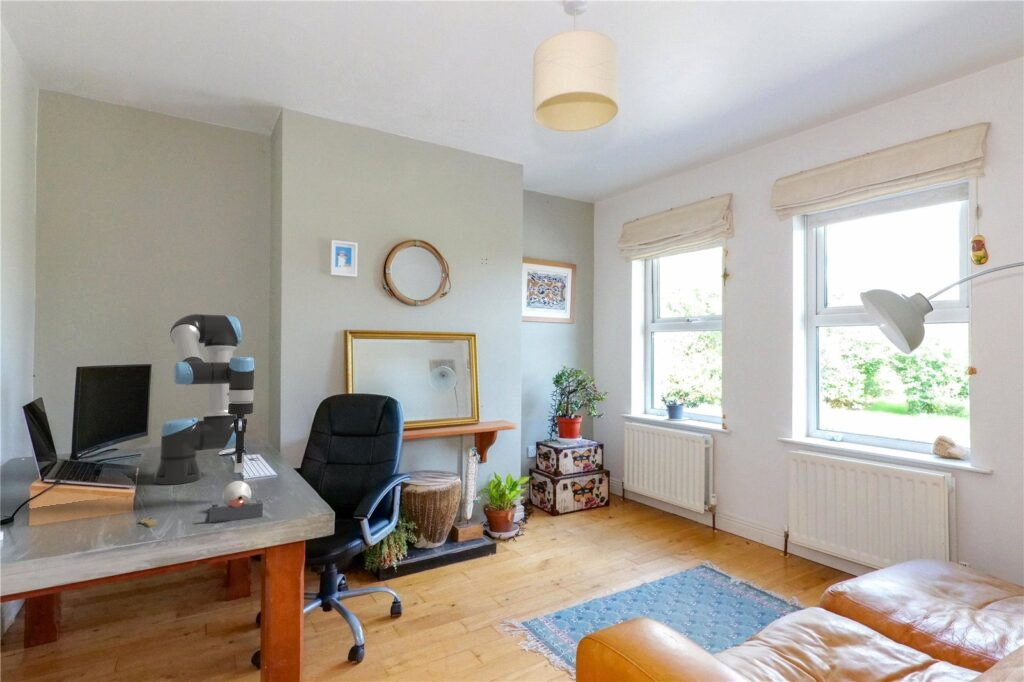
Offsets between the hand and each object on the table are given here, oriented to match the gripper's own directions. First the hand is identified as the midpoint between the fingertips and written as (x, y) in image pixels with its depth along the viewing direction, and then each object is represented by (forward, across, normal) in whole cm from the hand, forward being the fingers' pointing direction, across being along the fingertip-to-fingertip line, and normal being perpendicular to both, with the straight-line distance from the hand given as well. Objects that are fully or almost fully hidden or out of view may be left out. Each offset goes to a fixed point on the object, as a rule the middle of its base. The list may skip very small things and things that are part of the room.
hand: (238, 472), depth 174 cm
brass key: (+10, +17, -22) cm, 30 cm away
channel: (+10, +16, 0) cm, 18 cm away
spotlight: (+9, +14, 0) cm, 17 cm away
